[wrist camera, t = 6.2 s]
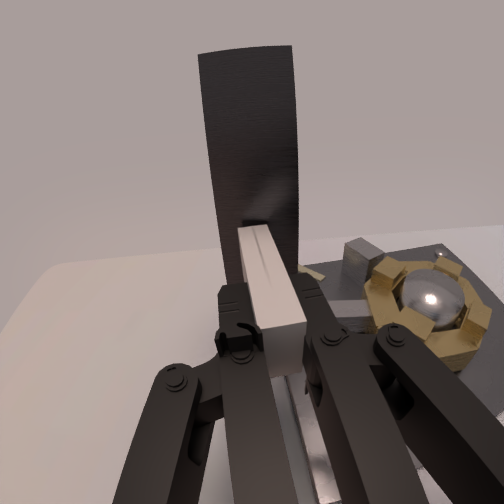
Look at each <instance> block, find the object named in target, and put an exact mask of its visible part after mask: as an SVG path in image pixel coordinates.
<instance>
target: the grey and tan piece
mask: <svg viewBox="0 0 504 504" xmlns="http://www.w3.org/2000/svg"><path fill="white" fill-rule="evenodd" d="M198 62H199V73H200V84H201V94H202V104H203V113H204V122H205V130H206V139H207V147H208V156H209V164H210V171H211V179H212V186H213V193H214V201H215V208H216V215H217V222H218V229H219V235H220V242H221V249H222V255H223V262H224V268H225V274H226V280H227V285H230V284H237V283H244V277H243V270H242V262H241V253H240V245H239V237H238V228H242V227H249V226H257V225H265V224H267V226H268V229H269V231H270V233H271V236H272V238H273V240H274V243H275V245H276V247H277V250H278V252H279V255H280V257H281V259H282V262H283V264H284V266H285V269H286V271H287V274H288V275H292V274H298V237H299V235H298V234H299V233H298V232H299V231H298V230H299V229H298V228H299V193H298V191H299V190H298V189H299V187H298V144H297V118H296V99H295V83H294V68H293V56H292V46H262V47H249V48H239V49H230V50H223V51H216V52H210V53H203V54H198ZM462 268H463V266H461V265H459V264H457V263H455V262H453V261H451V260H449V259H447V258H445V257H442V256H439V258H438V259H437V261H436V262H435V263H433V262H431V261H430V262H429V261H397V260H395V259H393V258H391V257H389V256H387V257H386V258H384V259H383V260H382V261H381V262H380V263H379V264H378V265H377V266H376V267H375V268H374V269H373V271H372V276H371V279H369V280H368V281H367V282H366V283H365V284H364V287H363V292H362V296H361V300H340V301H328V303H329V305H330V307H331V309H332V311H333V313H334V315H335V317H336V319H337V321H338V322H339V323H340V324H343V325H344V326H346V327H348V329H349V330H350V331H351V332H353V333H359V332H365V334H377V333H378V330H379V329H380V328H381V327H382V326H383V325H386V324H389V323H397V324H401V325H404V326H405V327H407V328H408V329H409V330H410V331H412V332H413V333H414V334H415V335H416V336H417V337H418V338H419V339H420V340H421V341H422V342H423V343H424V344H425V345H426V346H427V347H428V348H429V349H430V350H431V351H432V352H433V353H434V354H435V355H436V356H437V357H438V358H439V359H440V360H441V361H442V362H443V363H444V364H445V365H446V366H447V367H448V368H449V369H450V370H451V371H452V372H455V371H459V370H463V369H464V368H465V367H466V366H467V365H468V363H469V362H470V361H471V359H472V358H473V356H474V355H475V354H476V352H477V351H478V349H479V347H480V344H481V341H482V338H483V335H484V334H485V332H486V331H487V328H488V325H489V321H490V317H491V313H492V309H491V308H489V307H487V306H486V305H484V304H483V302H482V301H481V299H480V297H479V296H478V294H477V293H476V291H475V290H474V288H473V287H472V285H471V284H470V282H469V281H468V280H467V279H465V278H463V277H461V276H460V273H461V271H462ZM417 269H432V270H437V271H440V272H442V273H444V274H446V275H448V276H450V277H451V278H453V279H454V280H455V281H456V282H457V283H458V284H459V285H460V287H461V288H462V290H463V292H464V295H465V303H464V306H463V308H462V310H461V312H460V314H459V316H458V318H457V320H456V322H455V323H454V325H455V327H456V329H454V330H448V331H441V332H434V333H431V331H432V329H433V327H434V325H435V323H436V322H434V321H432V320H431V319H429V318H427V317H425V316H423V315H422V314H420V313H418V312H416V311H414V310H412V309H411V308H409V307H407V306H405V307H404V308H403V309H402V310H401V312H400V311H399V309H398V306H397V304H396V301H395V300H396V299H397V298H398V297H400V294H401V291H402V287H403V284H404V281H405V278H406V276H407V275H408V274H409V273H410V272H412V271H414V270H417Z"/></svg>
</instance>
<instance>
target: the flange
mask: <svg viewBox="0 0 504 504" xmlns="http://www.w3.org/2000/svg"><path fill="white" fill-rule="evenodd" d="M387 256H389V257H391V258H393V259H395V260H397V261H429V262H430V261H431V262H433V263H435V262H436V261H437V259H438V258H439V256H442V257H445V258H447V259H449V260H451V261H453V262H455V263H457V264H459V265H461V266H463V268H462V271H461V273H460V276H461V277H463V278H465V279H467V280H468V281H469V282H470V284H471V285H472V287H473V288H474V290H475V291H476V293H477V294H478V296H479V297H480V299H481V301H482V302H483V304H484V305H486V306H487V307H489V308H491V309H492V313H491V317H490V321H489V325H488V328H487V331H486V332H485V334H484V335H483V338H482V341H481V344H480V347H479V349H478V351H477V352H476V354H475V355H474V356H473V358H472V359H471V361H470V362H469V363H468V365H467V366H466V367H465V368H464V369H463V370H459V371H455V372H453V373H454V374H455V375H456V376H457V377H458V378H459V379H460V380H461V381H462V382H463V383H464V384H465V385H466V386H467V387H468V388H469V389H470V390H471V391H472V392H473V393H474V394H475V396H476V397H477V398H478V399H479V400H480V401H481V402H482V403H483V404H484V405H485V406H486V407H487V409H488V410H489V411H490V412H491V413H492V414H493V415H494V416H496V415H498V414H499V413H500V412H501V411H502V410H503V409H504V304H503V303H502V302H501V301H500V300H499V298H498V297H497V296H496V295H495V294H494V293H493V292H492V291H491V290H490V289H489V288H488V287H487V286H486V285H485V284H484V283H483V282H482V281H481V280H480V279H479V278H478V277H477V276H476V275H475V274H474V273H473V272H472V271H471V270H470V269H469V268H468V267H467V266H466V265H465V264H464V263H463V262H462V261H461V260H460V259H459V258H458V257H457V256H455V255H454V254H453V253H452V252H451V251H450V250H449V249H448V248H446V247H445V246H444V245H443V244H442V243H441V244H436V245H430V246H424V247H418V248H413V249H407V250H401V251H395V252H389V253H385V252H383V251H382V250H380V249H379V248H377V247H375V246H374V245H372V244H371V243H369V242H367V241H366V240H364V239H363V238H361V237H360V238H358V239H355V240H352V241H350V242H347V243H345V246H344V255H343V260H338V261H331V262H324V263H318V264H311V265H304V266H301V265H299V264H298V273H304V272H307V273H308V274H310V275H311V276H312V277H314V278H315V279H316V281H317V283H318V284H319V286H320V289H321V290H322V292H323V294H324V296H325V298H326V300H327V301H340V300H361V296H362V292H363V287H364V284H365V283H366V282H367V281H368V280H369V279H371V276H372V271H373V269H374V268H375V267H376V266H377V265H378V264H379V263H380V262H381V261H382V260H383V259H384V258H386V257H387ZM395 301H396V304H397V306H398V309H399V311H400V312H401V310H402V309H403V308H404V307H405V306H407V307H409V308H411V309H412V310H414V311H416V312H418V313H420V314H422V315H423V316H425V317H427V318H429V319H431V320H432V321H434V322H436V323H435V325H434V327H433V329H432V331H431V333H434V332H441V331H448V330H454V329H456V327H455V325H454V323H455V322H456V320H457V318H458V316H459V314H460V312H461V310H462V308H463V306H464V303H465V295H464V292H463V290H462V288H461V287H460V285H459V284H458V283H457V282H456V281H455V280H454V279H453V278H451V277H450V276H448V275H446V274H444V273H442V272H440V271H437V270H432V269H417V270H414V271H412V272H410V273H409V274H408V275H407V276H406V278H405V281H404V284H403V287H402V291H401V294H400V297H398V298H397V299H396V300H395ZM359 334H365V332H359ZM285 376H286V380H287V384H288V388H289V392H290V396H291V400H292V404H293V408H294V412H295V416H296V420H297V424H298V428H299V432H300V436H301V440H302V444H303V448H304V453H305V457H306V461H307V465H308V469H309V473H310V477H311V481H312V485H313V489H314V493H315V497H316V502H317V504H329V503H333V502H336V501H340V500H341V497H340V494H339V491H338V487H337V484H336V480H335V477H334V474H333V470H332V467H331V464H330V460H329V457H328V454H327V450H326V447H325V444H324V441H323V437H322V434H321V431H320V428H319V424H318V421H317V418H316V415H315V411H314V408H313V405H312V402H311V398H310V395H309V392H308V394H307V395H305V391H304V389H305V382H306V372H305V369H304V366H303V369H302V372H300V373H295V374H290V375H285ZM406 447H407V449H408V451H409V454H410V456H411V458H412V461H413V463H414V466H415V468H416V469H418V468H420V467H422V466H423V465H422V464H421V463H420V461H419V460H418V459H417V458H416V456H415V455H414V454H413V453H412V451H411V450H410V449H409V448H408V446H407V445H406Z"/></svg>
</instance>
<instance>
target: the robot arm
mask: <svg viewBox="0 0 504 504" xmlns="http://www.w3.org/2000/svg"><path fill="white" fill-rule="evenodd" d="M238 237H239V245H240V253H241V262H242V270H243V277H244V283H237V284H230V285H223V286H222V287H221V289H220V291H219V293H218V311H219V327H220V328H219V329H218V331H217V332H216V335H215V339H214V340H215V343H216V347H217V351H218V353H217V354H216V355H215V357H213V358H212V359H211V360H210V361H208V362H206V363H204V364H201V365H199V366H196V367H194V368H191V367H190V366H189V365H186V364H182V363H177V364H171V365H168V366H166V367H164V368H163V369H162V370H160V371H159V373H158V374H157V376H156V377H155V380H154V382H153V385H152V388H151V390H150V393H149V396H148V398H147V401H146V404H145V406H144V409H143V412H142V415H141V417H140V420H139V423H138V426H137V429H136V432H135V434H134V437H133V440H132V443H131V446H130V449H129V452H128V455H127V458H126V461H125V464H124V467H123V470H122V473H121V477H120V480H119V483H118V486H117V489H116V493H115V496H114V500H113V503H112V504H198V501H199V496H200V492H201V487H202V482H203V477H204V472H205V467H206V463H207V458H208V453H209V448H210V443H211V438H212V434H213V429H214V424H215V421H216V420H219V419H221V418H223V417H224V419H225V429H226V439H227V448H228V457H229V465H230V473H231V481H232V489H233V496H234V503H235V504H298V500H297V496H296V491H295V487H294V483H293V479H292V474H291V470H290V466H289V461H288V457H287V452H286V448H285V444H284V439H283V435H282V430H281V426H280V421H279V417H278V412H277V408H276V403H275V399H274V394H273V390H272V385H271V381H270V378H273V377H279V376H285V375H290V374H295V373H300V372H302V369H303V366H304V369H305V372H306V382H305V389H304V391H305V395H307V394H308V392H309V395H310V398H311V402H312V405H313V408H314V411H315V415H316V418H317V421H318V424H319V428H320V431H321V434H322V437H323V441H324V444H325V447H326V450H327V454H328V457H329V460H330V464H331V467H332V470H333V474H334V477H335V480H336V484H337V487H338V491H339V494H340V497H341V501H342V504H429V502H428V499H427V497H426V494H425V491H424V489H423V486H422V483H421V481H420V478H419V476H418V473H417V471H416V468H415V466H414V463H413V461H412V458H411V456H410V454H409V451H408V449H407V447H406V445H407V446H408V448H409V449H410V450H411V451H412V453H413V454H414V455H415V456H416V458H417V459H418V460H419V461H420V463H421V464H422V465H423V466H424V468H425V469H426V470H427V471H428V473H429V474H430V475H431V476H432V478H433V479H434V480H435V481H436V483H437V484H438V485H439V487H440V488H441V489H442V490H443V492H444V493H445V494H446V495H447V497H448V498H449V499H450V500H451V502H452V503H453V504H504V427H503V425H502V424H501V423H500V422H499V421H498V420H497V419H496V417H495V416H494V415H493V414H492V413H491V412H490V411H489V410H488V409H487V407H486V406H485V405H484V404H483V403H482V402H481V401H480V400H479V399H478V398H477V397H476V396H475V394H474V393H473V392H472V391H471V390H470V389H469V388H468V387H467V386H466V385H465V384H464V383H463V382H462V381H461V380H460V379H459V378H458V377H457V376H456V375H455V374H454V373H453V372H452V371H451V370H450V369H449V368H448V367H447V366H446V365H445V364H444V363H443V362H442V361H441V360H440V359H439V358H438V357H437V356H436V355H435V354H434V353H433V352H432V351H431V350H430V349H429V348H428V347H427V346H426V345H425V344H424V343H423V342H422V341H421V340H420V339H419V338H418V337H417V336H416V335H415V334H414V333H413V332H412V331H410V330H409V329H408V328H407V327H405V326H404V325H401V324H397V323H389V324H386V325H383V326H382V327H381V328H380V329H379V330H378V333H377V334H359V333H353V332H351V331H350V330H349V329H348V327H346V326H344V325H343V324H340V323H339V322H338V321H337V319H336V317H335V315H334V313H333V311H332V309H331V307H330V305H329V303H328V301H327V300H326V298H325V296H324V294H323V292H322V290H321V289H320V286H319V284H318V283H317V281H316V279H315V278H314V277H312V276H311V275H310V274H308V273H307V272H304V273H298V274H292V275H288V274H287V271H286V269H285V266H284V264H283V262H282V259H281V257H280V255H279V252H278V250H277V247H276V245H275V243H274V240H273V238H272V236H271V233H270V231H269V229H268V226H267V224H265V225H257V226H249V227H242V228H238Z"/></svg>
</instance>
